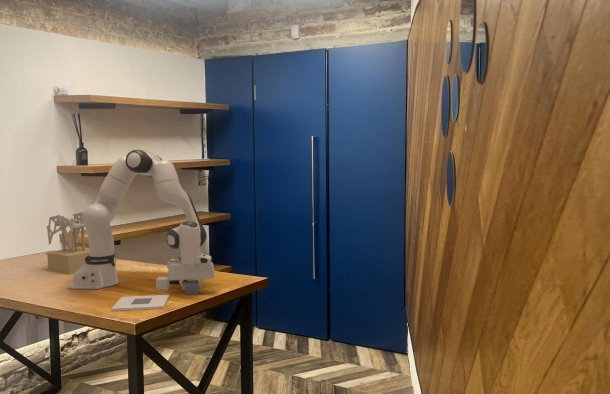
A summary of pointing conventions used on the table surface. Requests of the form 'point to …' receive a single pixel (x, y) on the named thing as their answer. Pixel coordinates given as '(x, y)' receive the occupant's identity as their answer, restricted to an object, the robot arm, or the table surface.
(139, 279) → the table surface
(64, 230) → the kinetic sculpture
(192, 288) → the slate block
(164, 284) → the off-white block
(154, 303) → the plate
